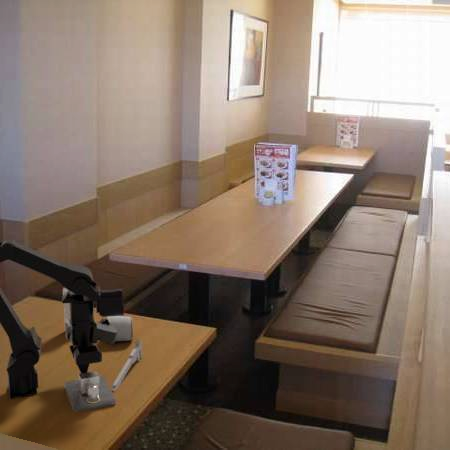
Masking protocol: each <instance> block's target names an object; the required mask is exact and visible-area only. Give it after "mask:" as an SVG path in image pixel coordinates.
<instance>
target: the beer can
mask: <svg viewBox="0 0 450 450" xmlns="http://www.w3.org/2000/svg"><path fill="white" fill-rule="evenodd" d="M67 291H69V290H68V289H66V288H64V287H63V288H62V296H64V295H65V294H66V293H67ZM70 292H71V291H70ZM71 293H72V292H71ZM73 294H74V293H73ZM62 304H63V320H64V321H63V323H64V325H63V326H64V332H66V329H67V328H68V327H69V326H70V323H69V319H70V303H62Z"/></svg>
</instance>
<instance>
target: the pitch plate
mask: <svg viewBox="0 0 450 450" xmlns="http://www.w3.org/2000/svg"><path fill="white" fill-rule="evenodd" d="M63 384H64V385H63V386H64V390H66V391H65V393H66V396H67V398H69V399H68V401H69V404H70V407H71V408H72V411H73V413H78V412H81V411H82V412H83V411H87V410H93V409H99V408H103V407H104V408H105V407H109V406H113V405H114V406H115V405H116V397H115V395H114V394H113V391H111V389H112V388H110V386H109V384H108V382H107V380H106V378H105V376H104V375H99V385H100V391H99V389H98V385H97V384H90V385H88V386H87V392H88V393H86V394H81V391H80V389H79V379H76V380H70V381H64V382H63Z"/></svg>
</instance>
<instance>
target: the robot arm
mask: <svg viewBox="0 0 450 450" xmlns="http://www.w3.org/2000/svg"><path fill="white" fill-rule="evenodd" d="M8 260H9V261H11V262H14V263H16V264H18V265H21V266H23V267H25V268H28V269H29V270H31V271H35V272H38V273H39V274H42V275H43V276H47V277H49V278H51V279H53V280H55V281H56V282H57V283H58V284H60V285H61V286H62V287H63V288H66V289H68V290H69V291H67V293H66V294H65V295H64V296H63V295H62V297H61V303H62V304H63V303H70V319H69V323H70V326H69V327H68V328H67V329H66V331H65V338H66V341H70V342H71V344H72V345H69V350H70V352H71V355H72V357H73V359H74V362H75V365H77V368H78V370H79V372H80V373H86V372H89V367H90V365H92V364H97V363H101V362H103V354H102V351H101V349H100V348H99V347H98V345H95V344H98V342H105V343H109V344H110V345H113V344H115V342H116V341H115V339H116V336H117V333H118V332H117V330H116V328H115V327H114V326H113V325H111V326H110V322H109V320H108V319H107V317H108V316H125V312H124V311H125V307H124V306H125V304H124V300H123V289H122V288H114V289H101V288H100V287H101V286H100V285H98V283H97V282H96V281H95V279H93V273H92V272H91V270H90V268H88V267H87V266H84V265H79V264H76V263H72V262H71V263H70V262H63V261H59V260H58V259H54V258H53V257H50V256H48V255H45V254H44V253H41V252H38V251H36V250H34V249H33V248H30V247H27V246H25V245H23V244H20V243H19V242H17V241H16V240H14V239H11V238H10V239H6V240H2V241H1V242H0V263H2V262H5V261H8ZM70 291H71V292H72V293H71V292H70ZM73 293H74V294H73ZM94 302H95V305H96V306H95V307H96V309H95V310H96V312H94V311H95V310H94ZM94 313H96V314H98V315H99V316H100V317H101V318H102V319H100V320H99V321H98V322H95V315H94ZM0 325H1V327H2V329H3V330H4V332H5V333H6V335H7V338H8V341H9V344H10V347H11V351H12V352H11V353H10V354H9V358H8V362H7V366H6V372H7V379H8V380H7V381H8V382H7V383H8V385H7V390H8V394H9V395H8V396H9V398H10V399H16V398H22V397H29V396H33V395H37V394H38V390H37V389H38V388H39V378H38V377H39V376H38V372H37V369H36V368H35V365H37V364H38V363H39V361H40V357H41V351H42V337H40V336H39V335H38V333H37V331H36V328H35V326H32V327H31V328H28V327H26V326H25V325H24V324H23V323H22V321H21V319H20V318H19V315H18V314H17V312H16V310H15V309H14V307H13V306H12V304H11V302H10V301H9V299H8V298H7V295H6V294H5V292H4V291H3V290H2V287H1V286H0Z"/></svg>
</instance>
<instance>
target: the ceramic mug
mask: <svg viewBox="0 0 450 450" xmlns="http://www.w3.org/2000/svg"><path fill="white" fill-rule="evenodd" d="M106 319H108V320H109V322H110V326H111V325H113V326H114V327H115V328H116V330H117V332H118V333H117V336H116V339H115V342H129V341H132V340H133V339H134V318H133V317H131V316H125V315H124V316H108V317H106Z"/></svg>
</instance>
